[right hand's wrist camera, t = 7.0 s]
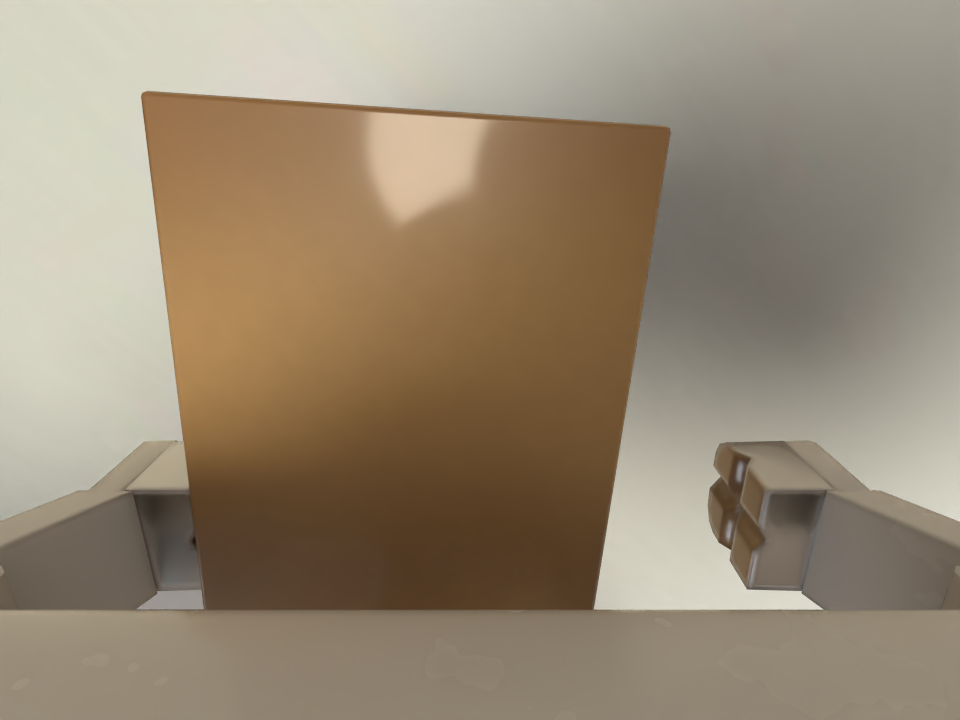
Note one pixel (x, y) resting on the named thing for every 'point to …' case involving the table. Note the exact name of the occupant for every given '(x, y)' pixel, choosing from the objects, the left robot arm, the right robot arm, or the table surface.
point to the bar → (400, 346)
